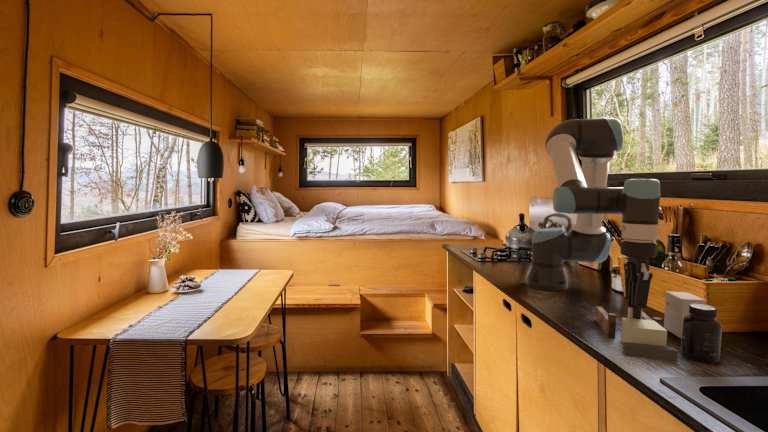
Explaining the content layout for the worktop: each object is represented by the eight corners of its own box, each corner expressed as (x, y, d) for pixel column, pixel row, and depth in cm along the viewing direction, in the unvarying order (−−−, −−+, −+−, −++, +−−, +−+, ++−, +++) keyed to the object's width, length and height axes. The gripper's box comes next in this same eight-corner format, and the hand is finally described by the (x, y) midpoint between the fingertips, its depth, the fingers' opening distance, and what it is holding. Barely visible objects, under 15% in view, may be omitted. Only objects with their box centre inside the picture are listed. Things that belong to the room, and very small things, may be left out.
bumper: (622, 352, 87) (623, 341, 87) (673, 358, 84) (673, 347, 84) (625, 355, 85) (626, 345, 85) (677, 362, 82) (677, 351, 82)
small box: (704, 340, 94) (707, 300, 93) (680, 339, 95) (682, 299, 94) (686, 329, 102) (688, 292, 101) (663, 327, 103) (665, 290, 102)
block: (620, 340, 93) (622, 317, 93) (652, 344, 92) (654, 320, 91) (631, 352, 87) (632, 327, 86) (665, 356, 85) (667, 330, 84)
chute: (595, 319, 109) (596, 299, 109) (640, 323, 105) (641, 303, 105) (608, 337, 96) (609, 314, 95) (660, 343, 92) (662, 319, 92)
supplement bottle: (672, 351, 87) (675, 301, 87) (699, 350, 88) (702, 301, 87) (699, 365, 81) (702, 311, 80) (728, 364, 81) (732, 310, 80)
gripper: (614, 236, 100) (610, 321, 102) (630, 243, 88) (625, 339, 89) (646, 237, 98) (641, 324, 99) (667, 244, 85) (661, 343, 87)
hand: (633, 331), depth 94 cm, fingers closed
